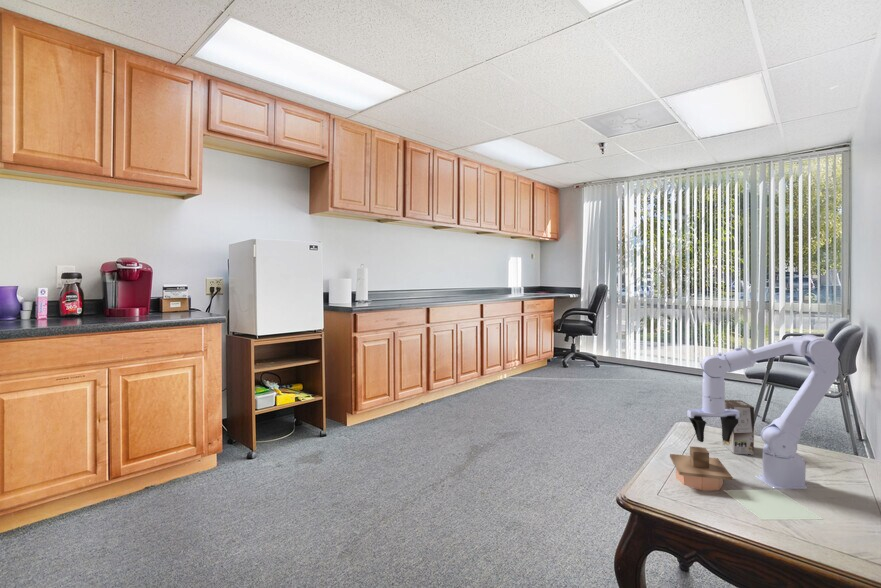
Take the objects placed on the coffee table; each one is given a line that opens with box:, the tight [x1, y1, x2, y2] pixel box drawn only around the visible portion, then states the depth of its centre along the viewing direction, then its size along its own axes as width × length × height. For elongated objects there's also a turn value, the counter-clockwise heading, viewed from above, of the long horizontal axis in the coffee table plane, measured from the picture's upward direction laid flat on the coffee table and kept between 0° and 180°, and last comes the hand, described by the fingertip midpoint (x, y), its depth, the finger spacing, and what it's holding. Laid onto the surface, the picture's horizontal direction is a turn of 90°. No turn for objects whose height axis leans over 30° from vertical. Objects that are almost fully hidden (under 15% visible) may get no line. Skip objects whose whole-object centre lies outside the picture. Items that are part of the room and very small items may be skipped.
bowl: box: [675, 468, 724, 491], centre depth 128 cm, size 11×11×4 cm
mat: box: [722, 489, 824, 521], centre depth 114 cm, size 15×15×1 cm
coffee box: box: [722, 399, 755, 456], centre depth 151 cm, size 9×6×16 cm
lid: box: [669, 446, 734, 481], centre depth 127 cm, size 13×13×5 cm
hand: (713, 440), depth 132 cm, fingers open, 7 cm apart
